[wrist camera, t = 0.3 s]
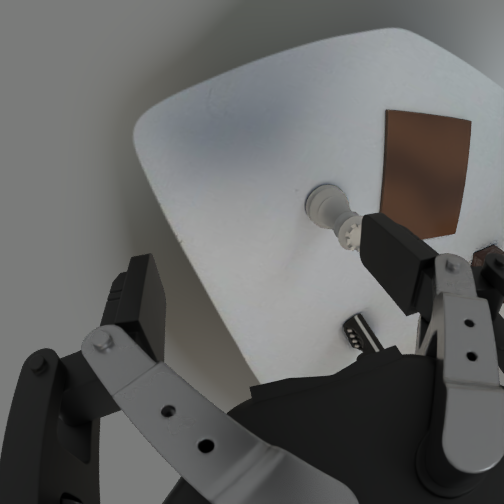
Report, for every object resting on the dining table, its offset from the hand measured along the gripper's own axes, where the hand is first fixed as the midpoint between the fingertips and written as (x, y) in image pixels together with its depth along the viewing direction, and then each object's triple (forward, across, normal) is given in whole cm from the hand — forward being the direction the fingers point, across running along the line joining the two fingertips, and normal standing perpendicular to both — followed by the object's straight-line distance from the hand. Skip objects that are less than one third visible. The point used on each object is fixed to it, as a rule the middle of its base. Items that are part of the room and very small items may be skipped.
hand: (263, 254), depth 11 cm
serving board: (+18, -24, +5) cm, 30 cm away
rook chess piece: (+18, -10, +6) cm, 22 cm away
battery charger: (+18, -15, +27) cm, 36 cm away
